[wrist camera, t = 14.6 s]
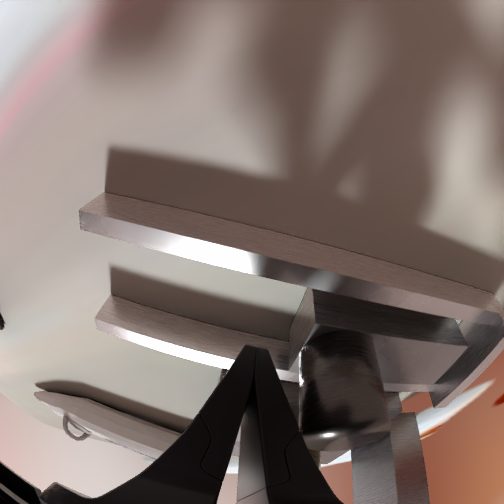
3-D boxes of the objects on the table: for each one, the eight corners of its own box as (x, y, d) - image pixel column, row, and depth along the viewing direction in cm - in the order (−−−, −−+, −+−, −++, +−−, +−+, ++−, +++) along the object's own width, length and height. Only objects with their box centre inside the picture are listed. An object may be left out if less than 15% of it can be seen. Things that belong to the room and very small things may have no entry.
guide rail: (112, 305, 14) (86, 346, 11) (103, 192, 10) (59, 225, 8) (432, 369, 14) (444, 407, 12) (493, 293, 11) (517, 331, 8)
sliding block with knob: (289, 328, 13) (285, 448, 8) (311, 279, 11) (321, 415, 6) (420, 349, 13) (448, 441, 8) (450, 311, 12) (493, 406, 7)
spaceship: (197, 420, 20) (186, 468, 16) (212, 446, 23) (205, 484, 19) (19, 368, 23) (3, 395, 19) (47, 398, 26) (34, 423, 22)
